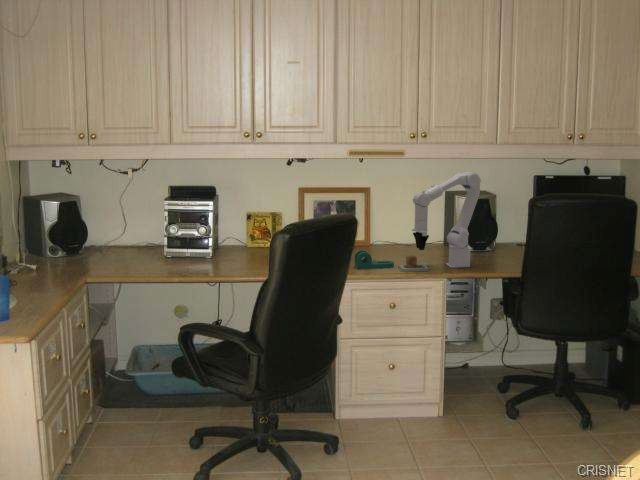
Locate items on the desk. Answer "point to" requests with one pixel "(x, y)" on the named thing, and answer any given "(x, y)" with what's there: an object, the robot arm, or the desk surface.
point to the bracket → (370, 261)
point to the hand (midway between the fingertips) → (420, 248)
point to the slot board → (419, 266)
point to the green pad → (425, 264)
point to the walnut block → (411, 262)
